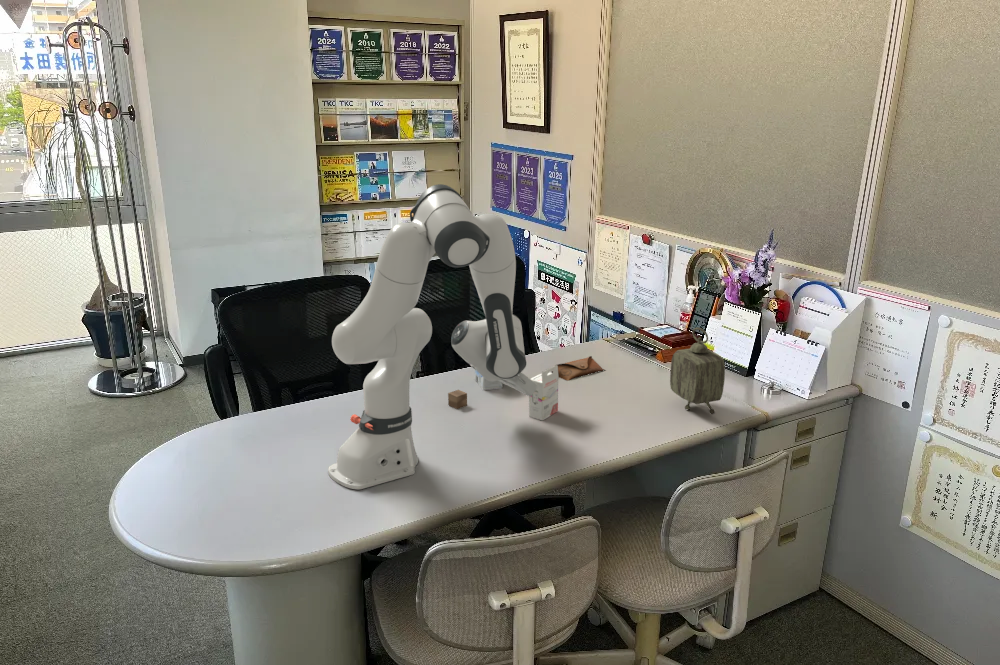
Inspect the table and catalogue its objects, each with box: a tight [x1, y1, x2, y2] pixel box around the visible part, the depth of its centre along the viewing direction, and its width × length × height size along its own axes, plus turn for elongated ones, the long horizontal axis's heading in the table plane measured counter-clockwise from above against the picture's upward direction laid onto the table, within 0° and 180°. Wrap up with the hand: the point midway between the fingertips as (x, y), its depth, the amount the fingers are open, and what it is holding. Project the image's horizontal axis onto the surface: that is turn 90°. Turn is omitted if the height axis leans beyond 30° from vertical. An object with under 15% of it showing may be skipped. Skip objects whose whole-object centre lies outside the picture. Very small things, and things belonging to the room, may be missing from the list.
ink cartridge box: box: [528, 364, 559, 421], centre depth 209 cm, size 9×5×15 cm, turn 143°
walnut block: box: [447, 389, 468, 410], centre depth 216 cm, size 4×4×4 cm
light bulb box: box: [474, 369, 503, 391], centre depth 233 cm, size 11×7×11 cm, turn 17°
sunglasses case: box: [551, 355, 605, 382], centre depth 245 cm, size 18×7×7 cm
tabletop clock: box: [669, 327, 726, 415], centre depth 211 cm, size 14×9×25 cm, turn 22°
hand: (522, 390), depth 204 cm, fingers closed
